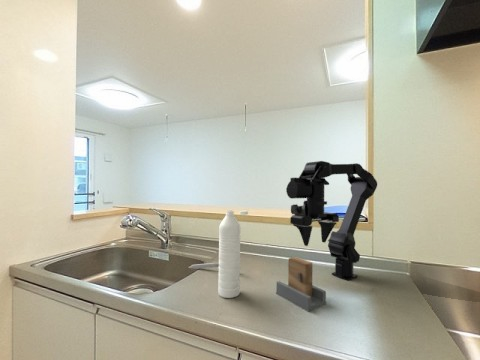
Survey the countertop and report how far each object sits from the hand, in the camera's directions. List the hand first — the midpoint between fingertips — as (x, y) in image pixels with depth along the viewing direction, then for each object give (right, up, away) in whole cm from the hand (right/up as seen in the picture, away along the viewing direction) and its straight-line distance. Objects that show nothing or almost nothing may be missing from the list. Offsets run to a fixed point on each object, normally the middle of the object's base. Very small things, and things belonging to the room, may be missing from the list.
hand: (315, 244), depth 80 cm
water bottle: (-28, -13, -9) cm, 32 cm away
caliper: (-36, -13, +10) cm, 39 cm away
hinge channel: (-8, -13, -12) cm, 19 cm away
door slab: (-8, -12, -12) cm, 18 cm away
